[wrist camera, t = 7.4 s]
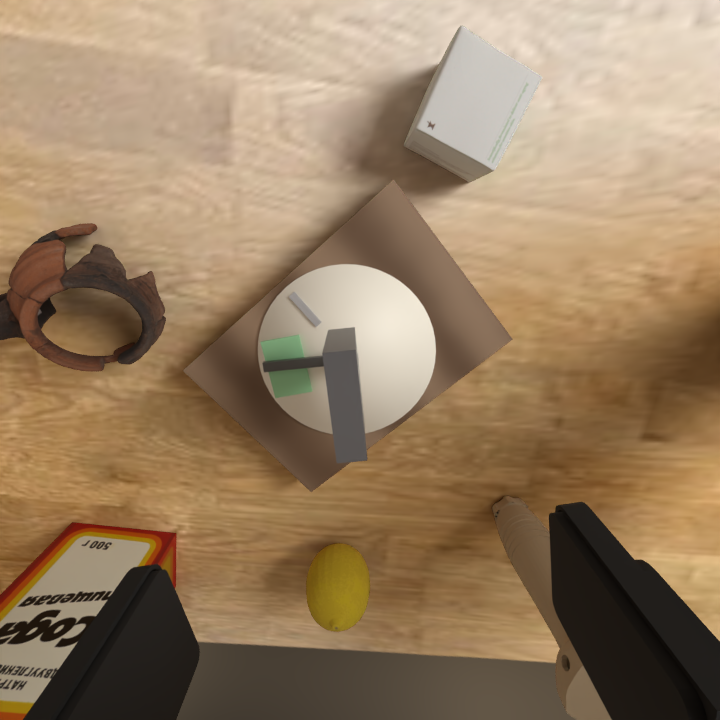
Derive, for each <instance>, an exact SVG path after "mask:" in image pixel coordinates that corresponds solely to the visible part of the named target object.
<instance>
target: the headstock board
mask: <svg viewBox="0 0 720 720" xmlns="http://www.w3.org/2000/svg"><path fill="white" fill-rule="evenodd" d="M339 264H355V265H362V266H367V267H371V268H374V269H378V270H380V271H382V272H385V273H387V274H389V275H391V276H392V277H394V278H396V279H397V280H399V281H400V282H402V283H403V284H404V285H405V286H406V287H408V288H409V289H410V290H411V291H412V292H413V294H414V295H415V296H416V297H417V298H418V299H419V301H420V302H421V304H422V305H423V307H424V308H425V310H426V312H427V314H428V316H429V318H430V321H431V324H432V327H433V331H434V336H435V343H436V356H435V365H434V369H433V373H432V376H431V379H430V382H429V384H428V386H427V388H426V390H425V392H424V394H423V395H422V396H421V398H420V399H419V401H418V402H417V403H416V404H415V405H414V407H413V408H412V409H411V410H410V411H409V412H407V413H406V414H405V415H404V416H403V417H401V418H400V419H398V420H397V421H395V422H394V423H392V424H390V425H388V426H386V427H384V428H382V429H379V430H376V431H374V432H369V433H365V436H366V449H369V448H370V447H371V446H373V445H374V444H375V443H377V442H378V441H379V440H381V439H382V438H383V437H384V436H386V435H387V434H388V433H390V432H391V431H392V430H394V429H395V428H396V427H398V426H399V425H400V424H402V423H403V422H404V421H406V420H407V419H408V418H409V417H411V416H412V415H413V414H415V413H416V412H417V411H419V410H420V409H421V408H423V407H424V406H425V405H427V404H428V403H429V402H431V401H432V400H433V399H435V398H436V397H437V396H438V395H440V394H441V393H442V392H444V391H445V390H446V389H448V388H449V387H450V386H452V385H453V384H454V383H456V382H457V381H458V380H460V379H461V378H462V377H464V376H465V375H466V374H467V373H469V372H470V371H471V370H473V369H474V368H475V367H477V366H478V365H479V364H481V363H482V362H483V361H485V360H486V359H487V358H489V357H490V356H491V355H493V354H494V353H495V352H496V351H498V350H499V349H500V348H502V347H503V346H504V345H506V344H507V343H508V342H510V341H511V340H512V338H511V336H510V335H509V334H508V332H507V331H506V330H505V328H504V327H503V326H502V324H501V323H500V322H499V320H498V319H497V318H496V316H495V315H494V313H493V312H492V311H491V309H490V308H489V307H488V305H487V304H486V303H485V301H484V300H483V299H482V297H481V296H480V295H479V293H478V292H477V291H476V289H475V288H474V287H473V285H472V284H471V283H470V281H469V280H468V279H467V277H466V276H465V274H464V273H463V272H462V270H461V269H460V268H459V266H458V265H457V264H456V262H455V261H454V260H453V258H452V257H451V256H450V254H449V253H448V252H447V250H446V249H445V248H444V246H443V245H442V244H441V242H440V241H439V240H438V238H437V237H436V235H435V234H434V233H433V231H432V230H431V229H430V227H429V226H428V225H427V223H426V222H425V221H424V219H423V218H422V217H421V215H420V214H419V213H418V211H417V210H416V209H415V207H414V206H413V205H412V203H411V202H410V201H409V199H408V198H407V197H406V195H405V194H404V192H403V191H402V190H401V188H400V187H399V186H398V184H397V183H396V182H395V180H394V179H393V180H392V181H391V182H390V183H389V184H388V185H387V186H386V187H385V188H384V189H382V190H381V191H380V192H379V193H378V194H377V195H376V196H375V197H374V198H373V199H371V200H370V201H369V202H368V203H367V204H366V205H365V206H364V207H363V208H362V209H360V210H359V211H358V212H357V213H356V214H355V215H354V216H353V217H352V218H351V219H349V220H348V221H347V222H346V223H345V224H344V225H343V226H342V227H341V228H339V229H338V230H337V231H336V232H335V233H334V234H333V235H332V236H331V237H330V238H328V239H327V240H326V241H325V242H324V243H323V244H322V245H321V246H320V247H319V248H317V249H316V250H315V251H314V252H313V253H312V254H311V255H310V256H309V257H308V258H306V259H305V260H304V261H303V262H302V263H301V264H300V265H299V266H298V267H297V268H295V269H294V270H293V271H292V272H291V273H290V274H289V275H288V276H287V277H285V278H284V279H283V280H282V281H281V282H280V283H279V284H278V285H277V286H276V287H274V288H273V289H272V290H271V291H270V292H269V293H268V294H267V295H266V296H265V297H263V298H262V299H261V300H260V301H259V302H258V303H257V304H256V305H255V306H254V307H252V308H251V309H250V310H249V311H248V312H247V313H246V314H245V315H244V316H242V317H241V318H240V319H239V320H238V321H237V322H236V323H235V324H234V325H233V326H231V327H230V328H229V329H228V330H227V331H226V332H225V333H224V334H223V335H222V336H220V337H219V338H218V339H217V340H216V341H215V342H214V343H213V344H212V345H211V346H209V347H208V348H207V349H206V350H205V351H204V352H203V353H202V354H201V355H200V356H198V357H197V358H196V359H195V360H194V361H193V362H192V363H191V364H190V365H188V366H187V367H186V368H185V369H184V370H183V371H184V372H185V373H186V374H187V375H188V376H189V377H190V378H191V379H192V380H193V381H194V382H195V383H196V384H197V385H198V386H200V387H201V388H202V389H203V390H204V391H205V392H206V393H207V394H208V395H209V396H210V397H211V398H212V399H213V400H214V401H215V402H216V403H218V404H219V405H220V406H221V407H222V408H223V409H224V410H225V411H226V412H227V413H228V414H229V415H230V416H231V417H232V418H233V419H234V420H236V421H237V422H238V423H239V424H240V425H241V426H242V427H243V428H244V429H245V430H246V431H247V432H248V433H249V434H250V435H251V436H252V437H254V438H255V439H256V440H257V441H258V442H259V443H260V444H261V445H262V446H263V447H264V448H265V449H266V450H267V451H268V452H269V453H270V454H272V455H273V456H274V457H275V458H276V459H277V460H278V461H279V462H280V463H281V464H282V465H283V466H284V467H285V468H286V469H287V470H288V471H289V472H291V473H292V474H293V475H294V476H295V477H296V478H297V479H298V480H299V481H300V482H301V483H302V484H303V485H304V486H305V487H306V488H307V489H309V490H310V491H311V492H312V491H313V490H315V489H316V488H317V487H319V486H320V485H321V484H323V483H324V482H325V481H326V480H328V479H329V478H330V477H332V476H333V475H334V474H336V473H337V472H338V471H340V470H341V469H342V468H344V467H345V466H346V465H348V464H349V463H350V462H346V463H337V462H336V454H335V447H334V439H333V434H329V433H325V432H321V431H318V430H315V429H312V428H310V427H308V426H306V425H304V424H302V423H300V422H299V421H297V420H296V419H294V418H293V417H291V416H290V415H289V414H288V413H287V412H286V411H284V410H283V409H282V408H281V407H280V405H279V404H278V403H277V402H276V401H275V399H274V398H273V396H272V395H271V394H270V392H269V390H268V388H267V386H266V384H265V382H264V380H263V377H262V374H261V371H260V366H259V361H258V338H259V333H260V329H261V325H262V322H263V320H264V317H265V315H266V313H267V311H268V309H269V307H270V305H271V304H272V303H273V301H274V300H275V299H276V297H277V296H278V295H279V294H280V293H281V292H282V291H283V290H284V289H285V288H286V287H287V286H288V285H289V284H291V283H292V282H293V281H294V280H296V279H297V278H299V277H301V276H303V275H304V274H306V273H308V272H311V271H313V270H316V269H318V268H322V267H326V266H331V265H339Z"/></svg>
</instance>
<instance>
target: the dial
mask: <svg viewBox="0 0 720 720" xmlns="http://www.w3.org/2000/svg"><path fill="white" fill-rule="evenodd" d="M351 327H355V334H356V344H357V353H358V358H359V373H360V383H361V393H362V403H363V412H364V423H365V433H369V432H374V431H376V430H379V429H382V428H384V427H386V426H388V425H390V424H392V423H394V422H395V421H397V420H398V419H400V418H401V417H403V416H404V415H405V414H406V413H407V412H409V411H410V410H411V409H412V408H413V407H414V405H415V404H416V403H417V402H418V401H419V399H420V398H421V396H422V395H423V394H424V392H425V390H426V388H427V386H428V384H429V382H430V379H431V376H432V373H433V369H434V365H435V356H436V343H435V336H434V331H433V327H432V324H431V321H430V318H429V316H428V314H427V312H426V310H425V308H424V307H423V305H422V304H421V302H420V301H419V299H418V298H417V297H416V296H415V295H414V294H413V292H412V291H411V290H410V289H409V288H408V287H406V286H405V285H404V284H403V283H402V282H400V281H399V280H397V279H396V278H394V277H392V276H391V275H389V274H387V273H385V272H382V271H380V270H378V269H374V268H371V267H367V266H362V265H355V264H339V265H331V266H326V267H322V268H318V269H316V270H313V271H311V272H308V273H306V274H304V275H303V276H301V277H299V278H297V279H296V280H294V281H293V282H292V283H291V284H289V285H288V286H287V287H286V288H285V289H284V290H283V291H282V292H281V293H280V294H279V295H278V296H277V297H276V299H275V300H274V301H273V303H272V304H271V305H270V307H269V309H268V311H267V313H266V315H265V317H264V320H263V322H262V325H261V329H260V333H259V338H258V361H259V366H260V371H261V374H262V377H263V380H264V382H265V384H266V386H267V388H268V390H269V392H270V394H271V395H272V396H273V398H274V399H275V401H276V402H277V403H278V404H279V405H280V407H281V408H282V409H283V410H284V411H286V412H287V413H288V414H289V415H290V416H291V417H293V418H294V419H296V420H297V421H299V422H300V423H302V424H304V425H306V426H308V427H310V428H312V429H315V430H318V431H321V432H325V433H329V434H333V431H332V424H331V416H330V409H329V401H328V393H327V386H326V378H325V371H324V366H323V367H313V368H303V369H293V370H283V371H273V372H264V370H263V364H262V363H263V361H272V360H282V359H292V358H302V357H312V356H322V352H323V348H324V344H325V340H326V336H327V332H328V330H331V329H341V328H351Z"/></svg>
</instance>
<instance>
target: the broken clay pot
mask: <svg viewBox="0 0 720 720" xmlns="http://www.w3.org/2000/svg"><path fill="white" fill-rule="evenodd" d="M96 229H97V226H96V225H95V224H79V225H74V226H71V227H66V228H61V229H59V230H57V231H52V232H50V233H49V234H46V235H45V236H43V237H41V238H39V239H38V241H36V242H34V243H33V244H32V245H31V246H30V247H29V248H28V249H26V250H25V251H24V252H23V254H22V255H21V256H20V257H19V260H18V262H17V263H16V265H15V267H14V268H13V270H12V272H11V275H10V278H9V285H10V287H11V289H10V290H8V293H5V294H1V295H0V340H4V339H8V338H15V337H19V338H24V339H26V341H27V342H28V343H29V344H30V346H31V347H32V348H33V349H35V350H36V351H37V352H38V353H39V354H41V355H42V356H44V357H45V358H47V359H49V360H51V361H53V362H54V363H57V364H59V365H61V366H64V367H68V368H72V369H76V370H81V371H102V370H103V369H104V364H105V363H109V362H116V361H118V362H119V363H121V364H132V363H134V362H136V361H137V360H139V359H140V358H141V357H142V356H143V355H144V354H145V353H146V352H147V351H148V350H149V349H150V347H151V346H152V345H153V344H154V343H155V342H156V341H157V339H158V338H159V336H160V335H161V333H162V331H163V328H164V325H165V321H166V318H165V317H164V316H163V314H164V313H165V308H164V305H163V303H162V301H161V298H160V297H159V295H158V291H157V288H156V284H155V278H154V275H153V272H152V271H150V272H148V273H147V274H146V275H143V276H139V277H137V278H133V279H129V280H127V279H126V271H125V269H124V267H123V265H122V264H121V262H120V261H119V260H118V259H117V258H116V257H115V255H114V252H113V251H112V250H111V249H110V248H107V247H105V246H102V245H98V244H95V245H94V246H93V248H92V250H91V252H90V254H88V255H86V256H84V257H83V258H82V259H81V260H80V261H79V262H78V263H77V264H75V265H74V266H73V267H72V268H70V269H69V270H67V268H66V266H65V253H66V246H65V244H64V243H63V242H62V241H60V240H61V239H63V238H64V237H67V236H74V235H89V234H91V233H92V231H95V230H96ZM83 287H84V288H95V289H100V290H104V291H108V292H111V293H113V294H116V295H118V296H120V297H122V298H124V299H125V300H126V301H127V302H129V303H130V304H131V305H132V306H133V308H134V309H135V310H136V311H137V312H138V314H139V315H140V317H141V320H142V333H141V336H140V338H139V340H138V341H137V342H136V343H130V344H128V345H125V346H123V347H121V348H118V349H117V350H115V351H114V355H111V356H87V355H81V354H76V353H73V352H70V351H67V350H65V349H62V348H60V347H59V346H57V345H55V344H54V343H53V342H51V341H50V340H49V339H48V338H47V337H46V336H45V335H44V334H43V332H42V331H41V328H42V327H43V324H44V323H45V322H46V321H47V320H48V319H49V318H50V317H51V316H52V315H53V314H55V313H56V309H55V307H54V306H53V304H52V303H51V301H50V297H51V296H53V295H54V294H56V293H59V292H61V291H64V290H67V289H68V288H83Z"/></svg>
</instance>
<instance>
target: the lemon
mask: <svg viewBox="0 0 720 720" xmlns="http://www.w3.org/2000/svg"><path fill="white" fill-rule="evenodd" d="M369 593H370V578H369V571H368V567H367V565H366V562H365V560H364V558H363V556H362V555H361V554H360V553H359V552H358V551H357V550H356V549H355V548H353V547H352V546H350V545H347V544H342V543H336V544H331V545H329V546H327V547H325V548H323V549H322V550H321V551H320V552H319V553H318V554H317V555H316V557H315V558H314V560H313V561H312V563H311V566H310V568H309V572H308V575H307V581H306V595H307V603H308V607H309V610H310V612H311V615H312V617H313V618H314V620H315V621H316V622H317V623H318V624H319V625H320V626H322V627H323V628H325V629H327V630H330V631H336V632H339V631H344V630H347V629H349V628H351V627H352V626H354V625H355V624H356V623H357V622H358V621H359V620H360V619H361V617H362V615H363V614H364V612H365V610H366V607H367V603H368V598H369Z"/></svg>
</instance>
